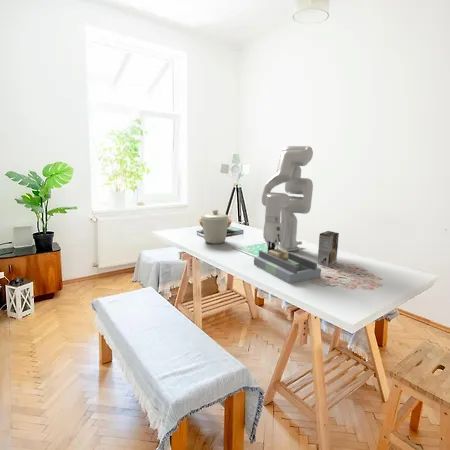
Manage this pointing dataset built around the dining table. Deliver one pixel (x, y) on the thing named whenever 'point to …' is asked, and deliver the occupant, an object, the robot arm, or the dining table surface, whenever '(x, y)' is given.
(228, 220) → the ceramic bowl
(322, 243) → the coffee box
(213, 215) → the canister
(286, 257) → the maple block
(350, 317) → the dining table surface
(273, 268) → the lane deck
